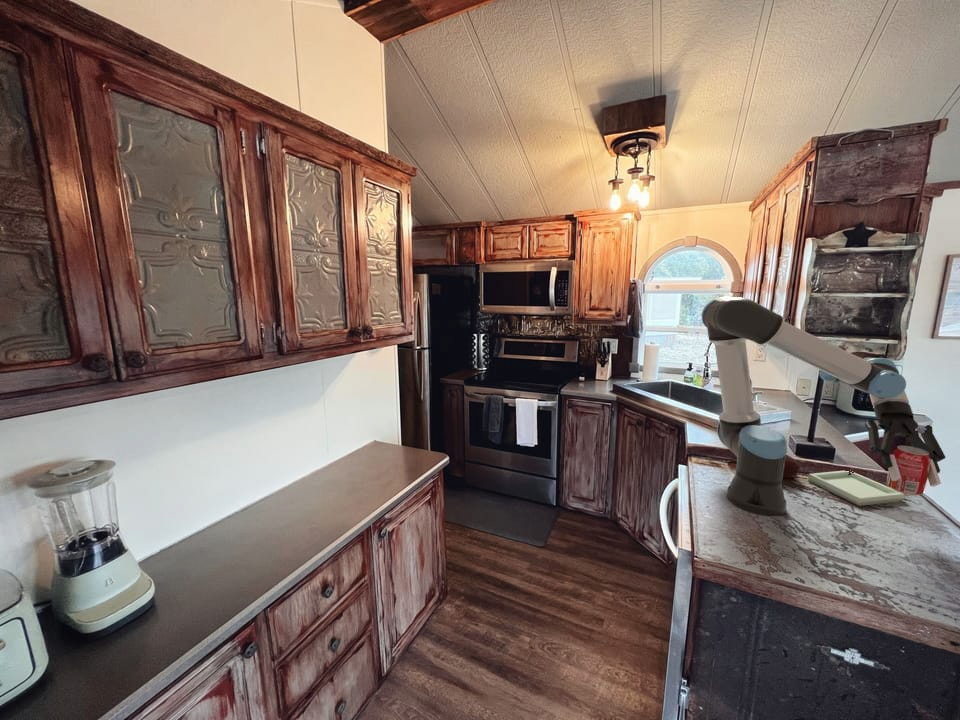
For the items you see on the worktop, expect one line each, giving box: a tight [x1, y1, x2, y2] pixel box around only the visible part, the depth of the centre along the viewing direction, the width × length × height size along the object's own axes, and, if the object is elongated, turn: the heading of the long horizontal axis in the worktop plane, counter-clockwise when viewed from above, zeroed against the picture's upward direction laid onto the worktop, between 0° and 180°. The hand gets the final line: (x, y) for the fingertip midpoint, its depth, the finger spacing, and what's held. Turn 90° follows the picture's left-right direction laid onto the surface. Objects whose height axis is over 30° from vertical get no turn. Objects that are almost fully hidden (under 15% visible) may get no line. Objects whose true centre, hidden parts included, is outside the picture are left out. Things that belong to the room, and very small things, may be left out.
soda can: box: [886, 445, 931, 496], centre depth 103 cm, size 7×7×12 cm
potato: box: [783, 454, 801, 478], centre depth 135 cm, size 12×11×8 cm
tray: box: [807, 470, 905, 507], centre depth 125 cm, size 16×16×2 cm
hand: (915, 481), depth 101 cm, fingers closed on soda can, 7 cm apart
